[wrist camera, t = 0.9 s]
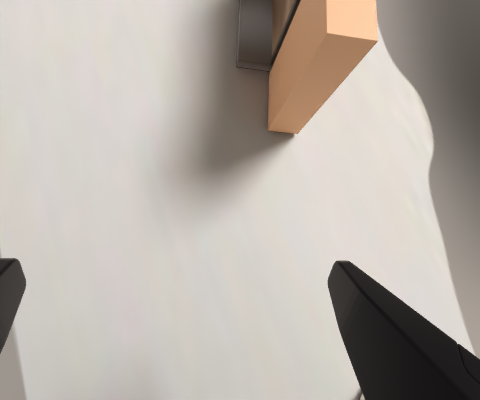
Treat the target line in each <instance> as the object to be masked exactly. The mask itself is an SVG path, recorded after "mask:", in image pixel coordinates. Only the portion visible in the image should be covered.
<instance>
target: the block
mask: <svg viewBox="0 0 480 400" xmlns="http://www.w3.org/2000/svg"><path fill="white" fill-rule="evenodd" d="M377 41H378V33H377V14H376V0H301V1H300V3H299V6H298V8H297V10H296V13H295V15H294V17H293V20H292V22H291V24H290V27H289V29H288V32H287V34H286V36H285V39H284V41H283V43H282V46H281V48H280V50H279V53H278V55H277V57H276V60H275V62H274V64H273V67H272V69H271V71H270V74H269V106H268V131H277V132H287V133H297V134H298V133H299V132H300V130H301V129H302V128H303V127H304V126H305V125H306V123H307V122H308V121H309V120H310V119H311V118H312V117H313V115H314V114H315V113H316V112H317V111H318V110H319V108H320V107H321V106H322V105H323V104H324V103H325V102H326V100H327V99H328V98H329V97H330V96H331V95H332V93H333V92H334V91H335V90H336V89H337V88H338V86H339V85H340V84H341V83H342V82H343V81H344V80H345V78H346V77H347V76H348V75H349V74H350V73H351V71H352V70H353V69H354V68H355V67H356V66H357V64H358V63H359V62H360V61H361V60H362V59H363V58H364V56H365V55H366V54H367V53H368V52H369V51H370V49H371V48H372V47H373V46H374V45H375V44H376V43H377Z"/></svg>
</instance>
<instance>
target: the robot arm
mask: <svg viewBox="0 0 480 400" xmlns="http://www.w3.org/2000/svg"><path fill="white" fill-rule="evenodd" d="M25 288H26V279H25V276H24V273H23V270H22V267H21V264H20V262H19V260H18V259H15V258H0V353H1V351H2V349H3V347H4V345H5V342H6V340H7V337H8V335H9V331H10V329H11V326H12V324H13V321H14V318H15V315H16V313H17V310H18V307H19V305H20V302H21V299H22V296H23V294H24V291H25ZM328 288H329V292H330V296H331V300H332V304H333V308H334V312H335V316H336V319H337V323H338V327H339V330H340V333H341V336H342V339H343V342H344V345H345V347H346V350H347V353H348V355H349V358H350V361H351V364H352V366H353V369H354V372H355V374H356V377H357V380H358V382H359V385H360V388H361V390H362V393H363V396H364V398H365V400H480V359H479V358H477V357H476V356H474V355H473V354H472V353H470V352H469V351H468V350H467V349H465V348H464V347H463V346H461V345H460V344H457V342H456V341H454V340H453V339H452V338H451V337H449V336H448V335H447V334H445V333H444V332H443V331H441V330H440V329H439V328H437V327H436V326H435V325H433V324H432V323H431V322H429V321H428V320H427V319H425V318H424V317H423V316H421V315H420V314H419V313H417V312H416V311H415V310H413V309H412V308H411V307H409V306H408V305H407V304H406V303H404V302H403V301H402V300H400V299H399V298H398V297H396V296H395V295H394V294H392V293H391V292H390V291H388V290H387V289H386V288H384V287H383V286H382V285H380V284H379V283H378V282H376V281H375V280H374V279H372V278H371V277H370V276H368V275H367V274H366V273H364V272H363V271H362V270H360V269H359V268H358V267H357V266H355V265H354V264H353V263H351V262H350V261H336V262H335V263H334V265H333V267H332V270H331V273H330V275H329V278H328Z"/></svg>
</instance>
